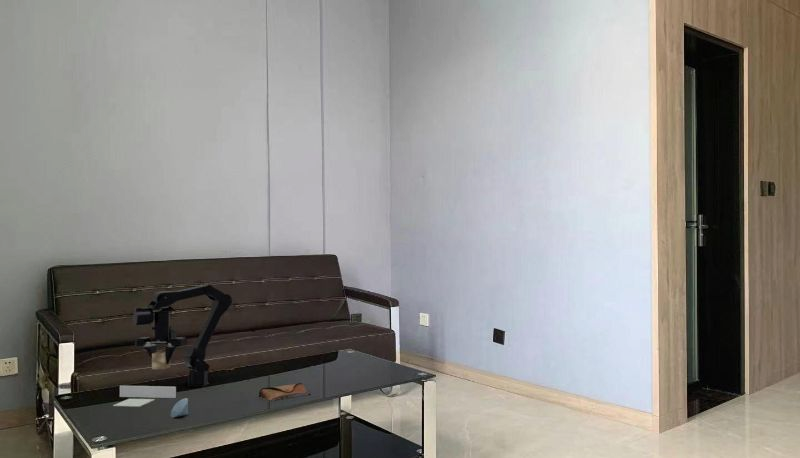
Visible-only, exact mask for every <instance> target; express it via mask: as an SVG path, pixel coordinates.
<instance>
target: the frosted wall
mask: <svg viewBox="0 0 800 458" xmlns="http://www.w3.org/2000/svg"><path fill="white" fill-rule="evenodd" d="M119 398H148V399H153V398H155V399H156V398H158V399H160V398H161V399H176V398H177V386H160V385H157V386H155V385H152V386H150V385H119Z"/></svg>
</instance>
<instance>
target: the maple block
mask: <svg viewBox="0 0 800 458" xmlns="http://www.w3.org/2000/svg"><path fill="white" fill-rule="evenodd" d="M171 360H172V358H171V359H170V362H169V364H167V363H166V351H162V350H161V351H156V352H155V353H152V359H151V370H166V369H169V368H171Z"/></svg>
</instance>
